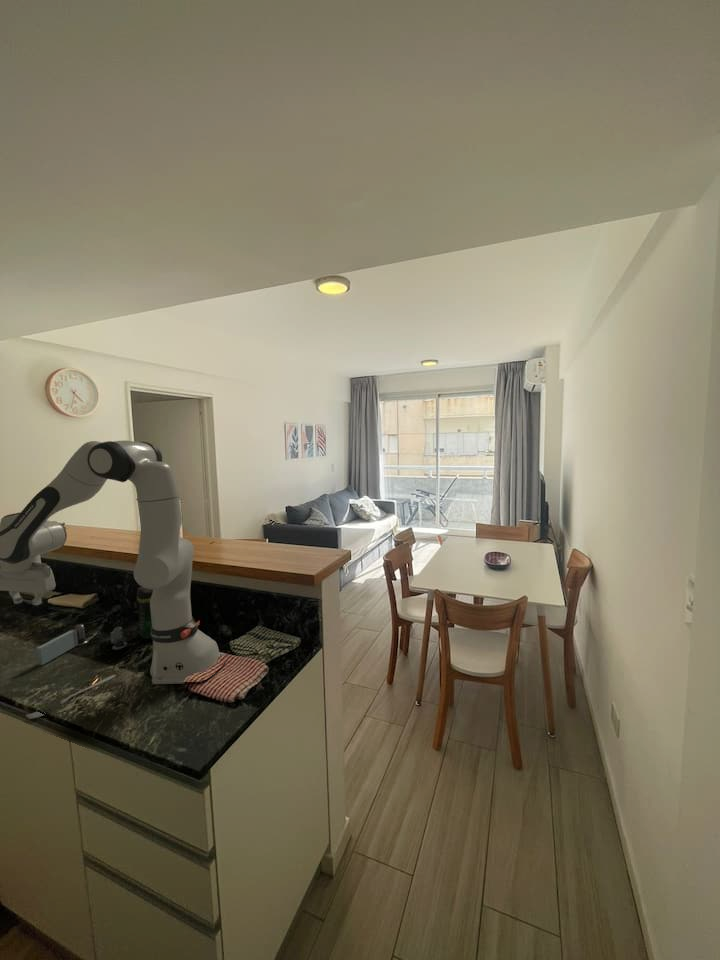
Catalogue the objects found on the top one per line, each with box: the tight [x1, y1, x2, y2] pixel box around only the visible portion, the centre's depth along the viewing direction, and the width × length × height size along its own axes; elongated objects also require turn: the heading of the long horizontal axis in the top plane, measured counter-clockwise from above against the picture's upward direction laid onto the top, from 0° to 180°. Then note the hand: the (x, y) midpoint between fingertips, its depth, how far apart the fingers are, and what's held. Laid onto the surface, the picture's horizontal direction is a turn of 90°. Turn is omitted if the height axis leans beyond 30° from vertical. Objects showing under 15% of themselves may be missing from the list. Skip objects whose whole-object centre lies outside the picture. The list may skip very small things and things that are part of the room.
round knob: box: [74, 623, 90, 647], centre depth 133 cm, size 4×4×6 cm
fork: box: [24, 674, 117, 720], centre depth 105 cm, size 3×24×2 cm, turn 152°
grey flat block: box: [35, 629, 78, 666], centre depth 125 cm, size 12×2×6 cm, turn 168°
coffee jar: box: [136, 586, 153, 640], centre depth 137 cm, size 10×8×19 cm
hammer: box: [109, 626, 128, 651], centre depth 130 cm, size 7×5×6 cm
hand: (27, 603), depth 121 cm, fingers open, 6 cm apart
